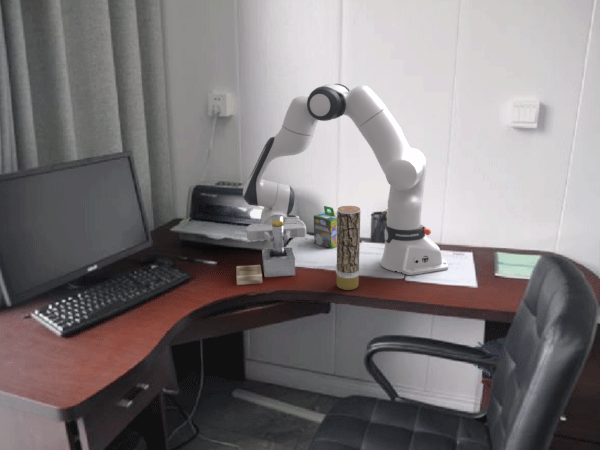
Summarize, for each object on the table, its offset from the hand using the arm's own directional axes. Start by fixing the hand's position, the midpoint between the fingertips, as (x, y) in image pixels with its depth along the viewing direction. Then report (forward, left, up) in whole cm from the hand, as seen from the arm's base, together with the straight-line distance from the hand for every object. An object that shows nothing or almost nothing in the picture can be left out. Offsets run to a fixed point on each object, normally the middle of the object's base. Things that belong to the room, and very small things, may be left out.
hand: (278, 238), depth 164 cm
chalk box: (-22, -24, -12) cm, 35 cm away
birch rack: (+10, +4, -12) cm, 16 cm away
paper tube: (-20, +15, -12) cm, 28 cm away
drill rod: (0, -1, -11) cm, 11 cm away
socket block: (0, -1, -12) cm, 12 cm away
